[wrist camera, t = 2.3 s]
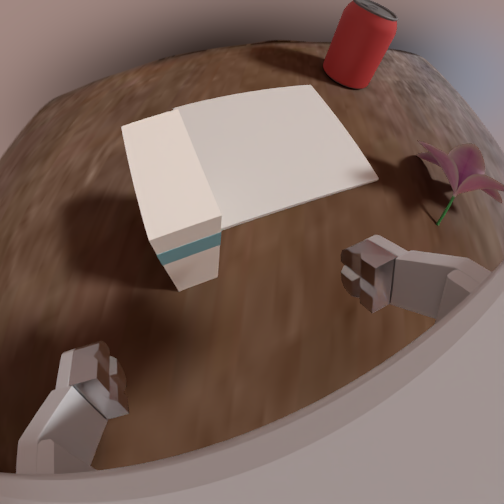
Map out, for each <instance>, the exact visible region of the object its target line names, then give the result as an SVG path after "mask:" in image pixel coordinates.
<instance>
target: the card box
mask: <svg viewBox="0 0 504 504" xmlns="http://www.w3.org/2000/svg"><path fill="white" fill-rule="evenodd" d="M121 128H122V133H123V138H124V143H125V148H126V153H127V158H128V162H129V167H130V171H131V175H132V180H133V184H134V188H135V192H136V196H137V200H138V204H139V207H140V211H141V215H142V219H143V222H144V226H145V229H146V233H147V236H148V240H149V242H150V244H151V245H152V247H153V249H154V251H155V252H156V255H157V257H158V259H159V260H160V262H161V264H162V265H163V266H164V268H165V270H166V271H167V273H168V275H169V276H170V278H171V279H172V281H173V283H174V284H175V286H176V288H177V289H178V291H181V290H184V289H187V288H189V287H192V286H195V285H197V284H200V283H203V282H206V281H208V280H211V279H214V278H216V277H218V265H219V249H220V242H221V220H222V215H221V212H220V210H219V207H218V205H217V203H216V200H215V198H214V195H213V193H212V191H211V188H210V186H209V183H208V181H207V179H206V176H205V174H204V171H203V169H202V166H201V164H200V162H199V159H198V157H197V154H196V152H195V149H194V147H193V145H192V142H191V140H190V137H189V135H188V132H187V130H186V127H185V125H184V122H183V120H182V117H181V115H180V112H179V110H178V109H177V110H173V111H170V112H166V113H162V114H159V115H156V116H152V117H149V118H146V119H143V120H140V121H137V122H134V123H131V124H128V125H125V126H122V127H121Z"/></svg>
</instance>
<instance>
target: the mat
mask: <svg viewBox="0 0 504 504" xmlns="http://www.w3.org/2000/svg"><path fill="white" fill-rule="evenodd" d="M177 109H178V110H179V112H180V115H181V117H182V120H183V122H184V125H185V127H186V130H187V132H188V135H189V137H190V140H191V142H192V145H193V147H194V149H195V152H196V154H197V157H198V159H199V162H200V164H201V166H202V169H203V171H204V174H205V176H206V179H207V181H208V183H209V186H210V188H211V191H212V193H213V195H214V198H215V200H216V203H217V205H218V207H219V210H220V212H221V215H222V220H221V231H222V230H225V229H228V228H230V227H233V226H236V225H239V224H242V223H245V222H248V221H251V220H254V219H257V218H260V217H263V216H266V215H269V214H272V213H275V212H278V211H281V210H285V209H288V208H291V207H294V206H297V205H300V204H303V203H306V202H310V201H313V200H316V199H319V198H322V197H325V196H329V195H332V194H335V193H338V192H342V191H345V190H348V189H352V188H355V187H358V186H362V185H365V184H368V183H372V182H375V181H377V180H378V179H379V178H378V176H377V175H376V173H375V172H374V170H373V168H372V167H371V165H370V164H369V162H368V161H367V159H366V158H365V156H364V155H363V153H362V152H361V150H360V149H359V147H358V146H357V145H356V143H355V142H354V140H353V139H352V137H351V136H350V135H349V133H348V132H347V130H346V129H345V128H344V126H343V125H342V124H341V122H340V121H339V120H338V118H337V117H336V116H335V114H334V113H333V112H332V111H331V109H330V108H329V107H328V105H327V104H326V103H325V102H324V100H323V99H322V98H321V97H320V95H319V94H318V93H317V92H316V91H315V89H314V88H313V87H312V86H311V85H301V86H291V87H281V88H273V89H266V90H259V91H252V92H246V93H240V94H234V95H229V96H224V97H219V98H214V99H209V100H205V101H200V102H196V103H192V104H188V105H184V106H180V107H176V108H173V110H177Z"/></svg>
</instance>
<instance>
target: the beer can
mask: <svg viewBox="0 0 504 504" xmlns="http://www.w3.org/2000/svg"><path fill="white" fill-rule="evenodd" d="M397 20H398V17H397V16H396V15H395V14H394V13H393V12H392V11H390V10H389V9H387V8H385V7H384V6H382V5H380V4H378V3H376V2H373V1H370V0H353V1H352V2H351V3H349V4H348V6H347V7H346V8H345V9H344V11H343V14H342V16H341V19H340V21H339V24H338V26H337V29H336V32H335V34H334V37H333V39H332V42H331V45H330V47H329V50H328V52H327V55H326V57H325V60H324V63H323V68H324V70H325V72H326V74H327V75H328V76H329V77H330V78H331V79H333V80H334V81H335V82H337V83H339V84H341V85H343V86H346V87H349V88H353V89H362V88H364V87H367V85H368V84H369V82H370V80H371V78H372V77H373V75H374V73H375V71H376V69H377V67H378V66H379V64H380V62H381V60H382V58H383V56H384V55H385V53H386V51H387V49H388V47H389V45H390V43H391V42H392V40H393V38H394V36H395V34H396V30H397Z"/></svg>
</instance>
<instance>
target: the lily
mask: <svg viewBox="0 0 504 504" xmlns="http://www.w3.org/2000/svg"><path fill="white" fill-rule="evenodd" d="M417 141H418V140H417ZM418 142H419V143H420V144H421V145H422V146H423V147H424V148H425V149H426V150H428V151H429V152H430V153H428V152H425V153H418V154H416V156H418V157H419V158H422V159H424V160H427V161H429V162H432V163H434V164H436V165H438V166H440V167H441V168H442V169H443V171H444V173H445V175H446V177H447V179H448V181H449V183H450V185H451V187H452V189H453V196H452V198H451V200H450V202H449V204H448V205H447V207H446V209H445V210H444V212H443V214H442V215H441V217H440V219H439V220H438V222H437V223H436V225H439V224H440V222H441V220H442V219H443V217H444V216H445V214H446V212H447V211H448V209H449V207H450V205H451V204H452V202H453V200H454V198H455V197H456V195H458V194H460V193H464V192H468V191H473V190H478V189H481V190H483V191H484V192H486V193H487V194H489V195H490V196H491V197H493V198H494V199H495V200H497V201H498V202H500V203H502V199H501V197H500V195H499V193H498V191H497V190H500V191H504V185H502V184H501V183H499V182H498V181H496V180H494V179H493V178H491V177H488V176H486V175H484V173H485V163H484V159H483V156H482V154H481V151H480V150H479V148H478V147H477V146H476V145H474V144H471V143H466V144H461V145H459V146H457V147H455V148H453V149H452V150H451V152H450V153H449V155H448V154H446V153H445V152H443V151H442V150H440V149H438V148H436V147H434V146H432V145H430V144H428V143H425V142H422V141H418Z"/></svg>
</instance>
